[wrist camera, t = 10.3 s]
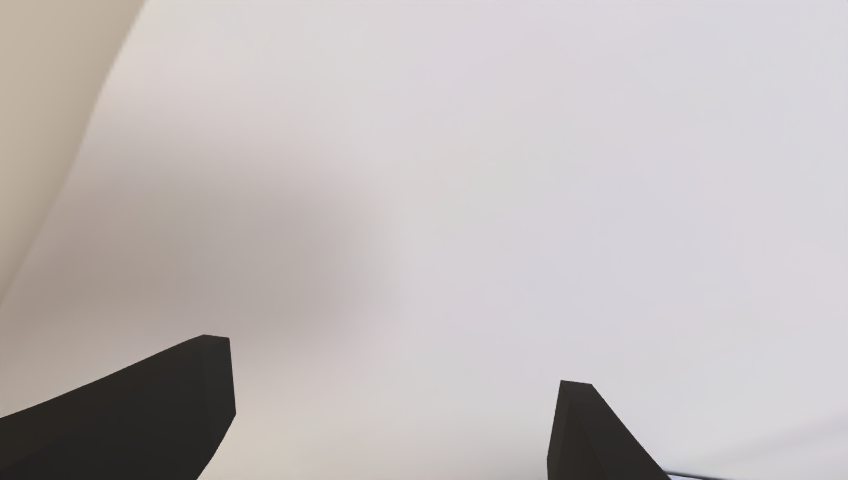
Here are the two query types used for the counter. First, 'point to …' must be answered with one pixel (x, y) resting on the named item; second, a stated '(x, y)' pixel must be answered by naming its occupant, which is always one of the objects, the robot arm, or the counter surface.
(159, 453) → the robot arm
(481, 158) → the counter surface
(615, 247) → the counter surface
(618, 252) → the counter surface
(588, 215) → the counter surface
